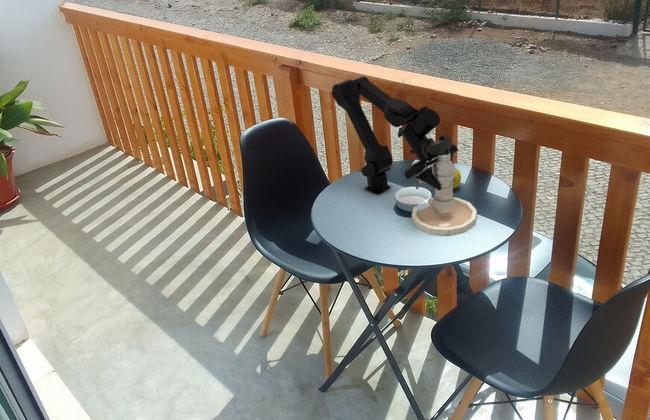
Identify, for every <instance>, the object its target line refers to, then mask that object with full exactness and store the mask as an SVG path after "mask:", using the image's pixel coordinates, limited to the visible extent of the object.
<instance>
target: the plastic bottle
mask: <svg viewBox="0 0 650 420" xmlns="http://www.w3.org/2000/svg"><path fill="white" fill-rule="evenodd" d="M437 159H438V160H437V162H436V163H435V164H434V163H433V164H434V166H433V165H432V166H433V175H434V177H435V178H436V180H437V181H438V183H439V185H440V187H441V189H440V190H437V189H436V188H434V191H433V197H432V198H433V203H432V205H433V209H434V211H435V212H436V213H438V214H449V213H451V212H452V211H453V209H454V198H453V197H454V191H453V190H454V189H453V180H454V174H455V168H456V167H455V164H454V163H453V161H450V159H451V156H450V152H449V151H447V150H446V151H444V153H442V154H439V155H437Z"/></svg>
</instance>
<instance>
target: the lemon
mask: <svg viewBox="0 0 650 420" xmlns="http://www.w3.org/2000/svg"><path fill="white" fill-rule="evenodd" d="M454 178H455V181H454V182H453V190H454V189H456V188H458V187H459V186H460V184H461V181H462V175H461V172H460V170H459V169H458V168H457V167H455V174H454Z"/></svg>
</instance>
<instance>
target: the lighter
mask: <svg viewBox="0 0 650 420" xmlns="http://www.w3.org/2000/svg"><path fill="white" fill-rule="evenodd" d="M435 163H436V162H435ZM435 163H433V164H432V173H433V166H434V164H435ZM417 179H418V178H417ZM418 184H422V185H423V184H428V183H426V182H424V181H422V180H420V179H418Z"/></svg>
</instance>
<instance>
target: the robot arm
mask: <svg viewBox="0 0 650 420" xmlns="http://www.w3.org/2000/svg"><path fill="white" fill-rule="evenodd" d="M331 95H332V98H333V100H335V102H336V104H337V105H338V106H339V107H340V108H342V109H343V110H345V112H346V113H347V115H348V117H349V119H350V121H351V124H352V125H353V127H354V130H355V132H356V133H357V136H358V138H359V140H360V143H361V145H362V146H363V149H364V162H365V165H364V166H363V167H362V168H361V169H360V170H361V174H362V176H364V177H366V182H367V186H365V187H364V190H366V191H367V192H370V193H372V194H375V195H377V196H378V195H380V194H382V193H384V192H385V191H387V190H388V189H391V185H389V184H388V178H387V177H388V176H387V171H390V170H391V167H392V166H393V162H394V160H393V154H392V153H391V152H390V149H389V147H388V145H386V144H385V145H382V144H381V143H379V141H378V139H377V136H376V135H375V132H374V131H373V129H372V126H371V124H370V123H369V121H368V117H367V116H366V114H365V112H364V110H363V107H362V105H361V103H360V102H361V101H360V100H361V96H362V97H363V98H364V99H366V100H367V101H368V102H369V103H371V104H372V105H374V106H375V107H376V108H378V110H380V111H381V112H382V113H383V116H384V119H385V120H386V121H387V122H388V123H389V124H390V125H391V126H392V127H394V128H398V132H397V138H402V137H403V138H404V139H405V141H406V143H407V144H408V146H409V147H410V149H411V150H410V152H409V153H410V154H411V155H413V154H414V155H415V156H416V158H417V160H418V161H416V162H415V163H412V164H411V165H410V166H409V167H407V169H406V170H405V169H404V176H405V178H406V179H407V181H409V180H411V179H413V178H414V179H415V180H417V179H420V180H422V181H424V182H426V183H427V184H428V185H429V186H431V187H432V188H434V189H435V188H436V189H437V190H440V189H441V187H440V185H439V183H438V181H437V180H436V178H435V177H434V175H433V173H432V166H433V164H434V163H435V162H437V160H438V159H437V155H439V154H442V153H444V151H446V150H447V151H449V152H450V156H451V159H450V161H451V162H453V158H454V154H455V153H457V152H458V151H459V148H458V147H457V145H456V144H453V143H452V140H451V138H450V137H449V135H448V134H447V133H445V134H442V135H440V136H439V139H438V140H436V141H435V140H434V139H433V138H432V137H429V138H428V136H427V135H428V134H430V133H431V132H432V131H433V130H434V129H435V128H437V126H439V125H440V122H441V117H440V115H439V113H438V111H437V112H436V111H435V110H434V109H431V108H429V107H428V106H427V105H424V106H423V107H420V108H419V109H417V108H415V107H413V106H412V105H411V104H410V103H408V102H407V101H404V100H402V99H395V98H393V97H391V96H390V95H389V94H387V93H386V92H385V91H383V90H382V89H381V88H379V87H378V86H376V85H375V84H374V83H372V82H371V81H370V80H369V79H368V77H366V76H359V77H356V78H354V79H353V80H352V79H351V78H349V79H346V80H343V81H341V82H339V83H335V84H334V85H332V88H331ZM431 165H432V166H431ZM454 181H455V178H454V180H453V182H454Z"/></svg>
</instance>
